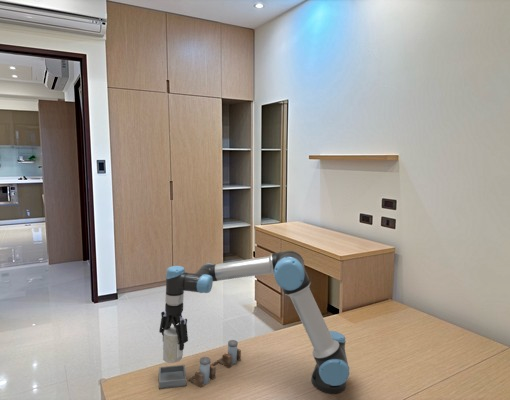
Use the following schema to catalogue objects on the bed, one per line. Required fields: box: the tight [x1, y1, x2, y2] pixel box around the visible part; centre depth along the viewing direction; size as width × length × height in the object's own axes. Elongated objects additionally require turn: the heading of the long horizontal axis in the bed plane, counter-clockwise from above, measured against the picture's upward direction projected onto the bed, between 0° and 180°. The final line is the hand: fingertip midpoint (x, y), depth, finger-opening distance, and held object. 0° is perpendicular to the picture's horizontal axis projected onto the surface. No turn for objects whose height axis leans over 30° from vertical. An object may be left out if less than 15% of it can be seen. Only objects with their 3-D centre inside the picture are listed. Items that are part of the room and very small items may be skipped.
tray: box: [158, 364, 187, 390], centre depth 153 cm, size 11×11×3 cm
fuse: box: [227, 339, 238, 366], centre depth 169 cm, size 5×5×10 cm
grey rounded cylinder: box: [199, 356, 211, 385], centre depth 153 cm, size 5×5×10 cm
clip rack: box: [187, 348, 242, 388], centre depth 162 cm, size 8×28×5 cm, turn 145°
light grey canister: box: [162, 326, 183, 364], centre depth 152 cm, size 8×8×12 cm
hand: (172, 352), depth 152 cm, fingers closed on light grey canister, 8 cm apart
